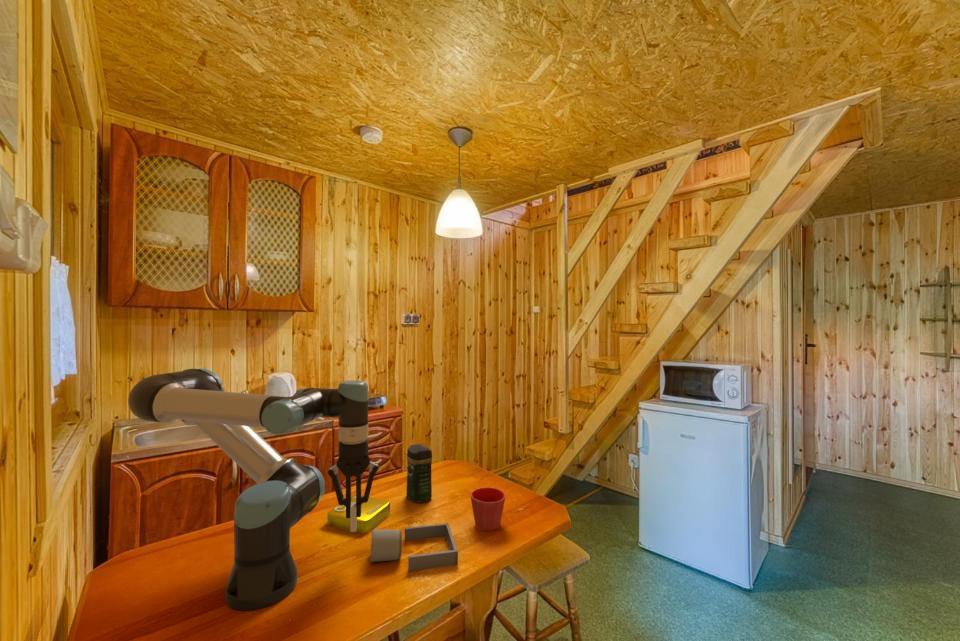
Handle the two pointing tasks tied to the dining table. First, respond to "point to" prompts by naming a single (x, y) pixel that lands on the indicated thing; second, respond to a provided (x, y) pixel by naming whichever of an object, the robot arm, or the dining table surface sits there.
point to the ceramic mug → (386, 545)
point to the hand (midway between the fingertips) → (353, 529)
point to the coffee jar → (419, 473)
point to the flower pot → (487, 507)
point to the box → (432, 558)
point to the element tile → (366, 522)
